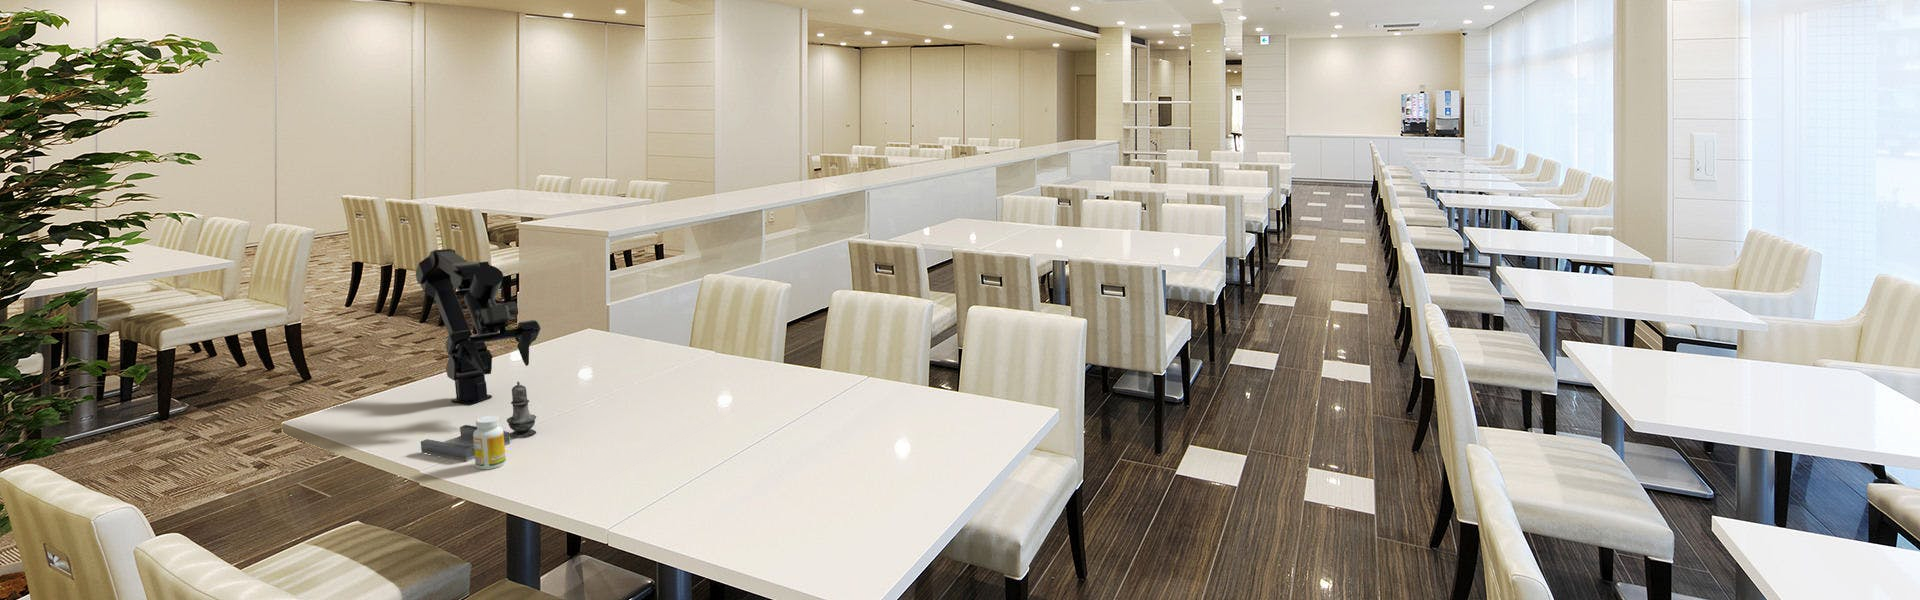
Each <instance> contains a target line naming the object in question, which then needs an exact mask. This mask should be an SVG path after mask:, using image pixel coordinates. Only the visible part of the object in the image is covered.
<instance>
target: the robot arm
mask: <svg viewBox="0 0 1920 600" xmlns="http://www.w3.org/2000/svg"><path fill="white" fill-rule="evenodd" d="M415 279H416V282H417V284H419V285H420V286H421V289H422V291H423V293H425V294H426V295H427V296H429V297H431V298H433V299H434V301H435V304H436V305H437V308H438V311H439V314H440V315H441V316H440V317H441V319H442V321H443V323H444V326H445V329H446V331H447V333H448V336H447V340H446V343H445V349H446V353H447V355H448V357H449V358H448V361H447V363H446V367H445V370H446V376H447V378H449V379H451V380H452V381H454V384H455V395H456V397H455V398H452V399H450V401H451V402H452V403H458V404H464V405H465V404H466V405H474V404H478V403H479V402H483V401H486V400H488V399H489V400H490V399H491V398H493V395H492V394H488V389H487V381H486V377H485V375H491V374H492V368H493V367H492V366H493V364H492V363H493V354H491V351H490V349H488V347H487V345H486V343H489V342H495V341H501V340H508V339H513V338H514V339H515V341H516V342H517V344H516V345H517V346H516V347H517V349H518V351H519V354H520V356H521V359H522V361H523V363H524V365H525V367H528V366H529V363H530V345H532V343H533V342H534V341H536V340H537V339H538V336H539V333H540V331H541V326H540V323H539V322H538V321H537V320H535V319H531V320H525V321H518V324H517V326H516V328H512V329H507V327H509V325H510V323H509V320H512V318H513V317H516V316H517V315H519V309H518V305H517V304H516V301H515V300H514V301H507V302H506V303H504V305H497V302H496V301H495V298H496V296H498V293H499V290H500V288H501V285H502V282H503V280H504V273H503V272H502V271H501V270H500V269H499V268H498V267H496V266H494V265H490V263H489V261H468V260H467V259H465V258H464V257H462V256H461V255H459V254H458V253H456V251H455V249H451V248H445V249H433V250H432V251H430V252H429V255H428V256H427V257H425V258H423V260H421V261H420V262H419V263H418V264H417V268H416V272H415ZM455 289H456V290H457V291H466V290H467V291H466V292H465V293H464V296H463V299H464V306H465V307H467V309H468V312H469V315H470V318H471V320H472V321H471V325H472V327H473V328H475V331H476V333H477V334H473V333H472V331H471V328H470V326H469V325H470V324H469V323H468V321H467V317H466V316H465V313H464V311H463V309H462V305H461V303H460V301H459V299H458V297H457V294H456V292H455Z"/></svg>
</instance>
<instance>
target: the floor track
mask: <svg viewBox="0 0 1920 600" xmlns="http://www.w3.org/2000/svg"><path fill="white" fill-rule="evenodd" d="M476 429H478V428H477V427H476V425H470V424H469V425H468V424H465V425H462V426H460V427H459V431H460V435H459V436H458V437H454V438H452V439H449V440H446V441H440V440H435V439H429V438H427V439H424V440H421V441H420V449H421V454H422V453H427V454H431V455H430V456H432V455H435V456H434V457H438V456H440V457H439V458H443V457H444V458H445V459H450V460H456V461H460V462H469V461H471V460H475V452H474V441H473V433H474V431H475V430H476ZM503 433H504V445H505V446H507V445H510V444H511V441H510V440H511V439H510V431H507V430H506V431H505V430H503ZM427 454H426V455H427Z"/></svg>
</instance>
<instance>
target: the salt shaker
mask: <svg viewBox="0 0 1920 600" xmlns="http://www.w3.org/2000/svg"><path fill="white" fill-rule="evenodd" d="M520 383H521V382H520V381H517V382H516V385H514V386H513V387H512V388H511V397H512V401H511V402H510V404H511V405H512V415H511V416H510V417H508V418H507V419H506V422H507V424H508V426H509V428H510V429H511V430H512V432H511V433H509V438H512V439H526V438H531V437H533V436H534V435H536V433H537V431H536V430H535V429H532V428H533V427H534V426H535V423H536V419H537V415H535V414H531V413H530V410H529V402H530V400H529V399H528V397H527V396H528V395H527V387H526V386H524V385H521V384H520Z"/></svg>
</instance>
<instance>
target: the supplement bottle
mask: <svg viewBox="0 0 1920 600" xmlns="http://www.w3.org/2000/svg"><path fill="white" fill-rule="evenodd" d="M499 424H500V420H499V416H496V415H487V416H485V415H484V416H482V417H479V418H477V419H476V420H475V426H476V427H477V428H478V429H476V430H475V431H474V433H473V441H474V452H475V458H474V461H475V467H476V468H477V469H479V470H493V469H497V468H500V467H503V466H504V465H505V464H506V462H507V460H506V459H507V457H506V449H505V448H506V447H505V446H506V445H504V433H503V431H504V430H503V429H504V428H503V427H501V426H499Z"/></svg>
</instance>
